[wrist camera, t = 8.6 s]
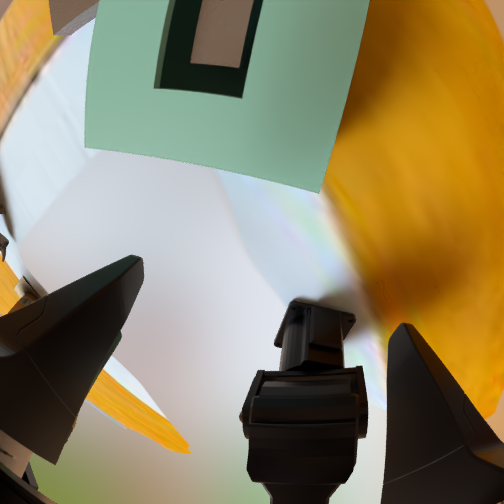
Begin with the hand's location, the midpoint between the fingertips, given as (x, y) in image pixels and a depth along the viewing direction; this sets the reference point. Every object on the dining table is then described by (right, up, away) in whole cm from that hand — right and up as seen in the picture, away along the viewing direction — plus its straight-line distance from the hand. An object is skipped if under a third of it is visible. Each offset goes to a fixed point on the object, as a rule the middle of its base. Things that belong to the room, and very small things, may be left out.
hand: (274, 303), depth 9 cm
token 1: (-14, +22, +4) cm, 26 cm away
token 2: (-1, +15, +5) cm, 16 cm away
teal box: (-1, +15, +5) cm, 16 cm away
